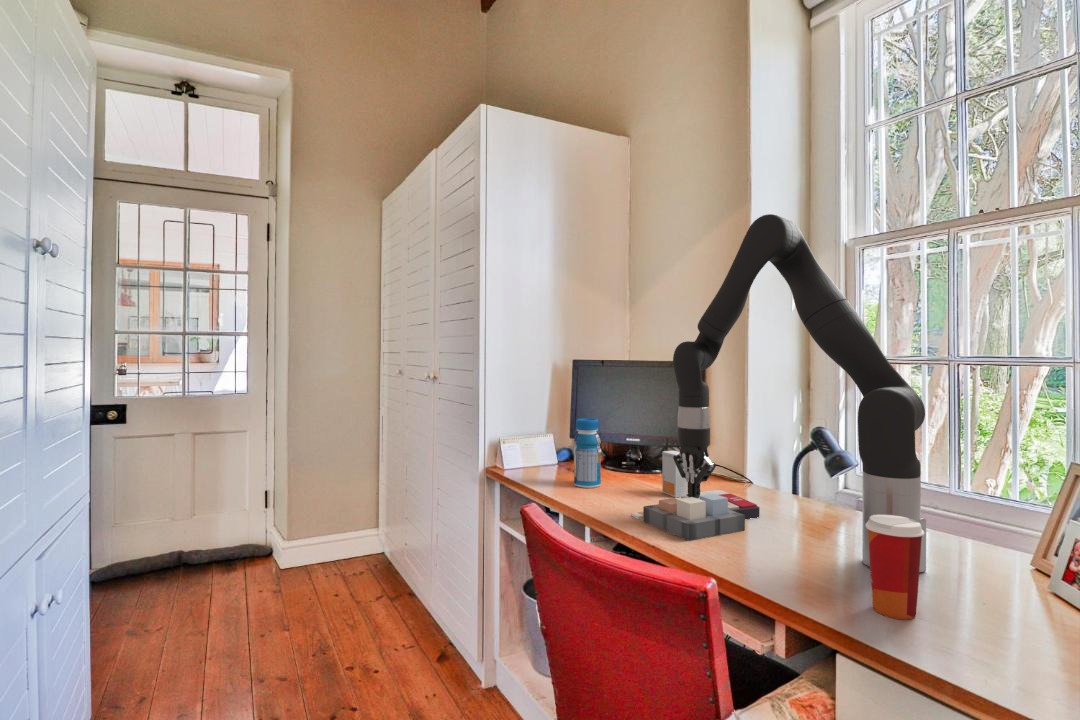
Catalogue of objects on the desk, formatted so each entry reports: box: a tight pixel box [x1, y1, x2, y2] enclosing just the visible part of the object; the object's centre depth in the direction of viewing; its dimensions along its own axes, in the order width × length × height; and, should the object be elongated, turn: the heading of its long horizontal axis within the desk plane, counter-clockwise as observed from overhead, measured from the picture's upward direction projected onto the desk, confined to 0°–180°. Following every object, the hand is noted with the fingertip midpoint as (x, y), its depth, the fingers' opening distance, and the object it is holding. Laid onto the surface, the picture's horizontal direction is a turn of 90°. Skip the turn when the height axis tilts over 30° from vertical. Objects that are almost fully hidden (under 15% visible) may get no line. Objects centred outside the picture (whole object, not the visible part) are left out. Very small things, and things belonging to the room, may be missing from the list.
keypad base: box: [642, 503, 746, 542], centre depth 132 cm, size 16×16×4 cm
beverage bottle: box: [572, 417, 602, 489], centre depth 173 cm, size 8×8×20 cm
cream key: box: [676, 497, 706, 520], centre depth 127 cm, size 4×4×4 cm
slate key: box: [699, 494, 728, 516], centre depth 130 cm, size 4×4×4 cm
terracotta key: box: [658, 497, 678, 513], centre depth 133 cm, size 4×4×4 cm
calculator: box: [686, 489, 760, 520], centre depth 143 cm, size 11×4×15 cm
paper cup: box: [865, 515, 924, 621], centre depth 88 cm, size 8×8×14 cm
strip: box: [630, 511, 643, 520], centre depth 142 cm, size 3×16×1 cm, turn 116°
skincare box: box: [661, 450, 688, 499], centre depth 161 cm, size 6×4×12 cm
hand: (693, 497), depth 136 cm, fingers closed
